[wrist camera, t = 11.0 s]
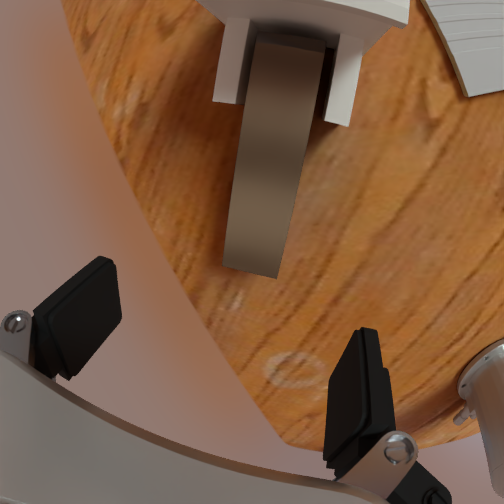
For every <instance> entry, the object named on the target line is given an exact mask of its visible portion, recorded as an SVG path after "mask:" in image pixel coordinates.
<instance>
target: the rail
mask: <svg viewBox="0 0 504 504" xmlns="http://www.w3.org/2000/svg"><path fill="white" fill-rule="evenodd" d="M325 48H326V41H321V40H316V39H311V38H306V37H300V36H294V35H288V34H281V33H273V32H264V31H258V33H257V38H256V44H255V49H254V55H253V60H252V66H251V72H250V78H249V83H248V89H247V95H246V101H245V108H244V114H243V120H242V126H241V133H240V139H239V146H238V152H237V159H236V166H235V172H234V179H233V186H232V193H231V201H230V208H229V215H228V223H227V230H226V238H225V246H224V254H223V262H222V266H224V267H229V268H233V269H237V270H241V271H245V272H249V273H253V274H257V275H262V276H266V277H270V278H274V279H277V276H278V272H279V268H280V263H281V259H282V255H283V251H284V247H285V242H286V238H287V234H288V229H289V225H290V221H291V216H292V212H293V208H294V203H295V199H296V194H297V189H298V185H299V180H300V176H301V171H302V166H303V162H304V157H305V152H306V147H307V142H308V138H309V133H310V128H311V123H312V118H313V113H314V107H315V102H316V97H317V92H318V87H319V81H320V76H321V70H322V65H323V59H324V54H325Z"/></svg>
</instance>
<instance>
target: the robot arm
mask: <svg viewBox="0 0 504 504" xmlns="http://www.w3.org/2000/svg"><path fill="white" fill-rule="evenodd" d="M33 312H34V316H33V317H31V315H30V314H29V313H28V312H26V311H23V310H17V311H13V312H11V313H9V314H8V315H7V316H5V318H4V319H3V320H2V323H1V326H0V504H452V498H451V494H450V492H449V491H448V489H447V488H446V487H445V486H444V485H443V484H441V483H440V482H439V481H438V480H437V479H436V478H435V477H434V476H432V474H430V473H429V472H428V471H427V470H426V469H425V468H424V467H423V466H422V465H421V464H420V463H418V462H417V461H416V459H417V457H418V447H417V444H416V442H415V440H414V439H413V438H412V437H411V436H410V435H409V434H407V433H405V432H402V431H396V426H395V416H394V407H393V398H392V390H391V383H390V376H389V371H388V369H387V368H383V363H382V357H381V350H380V344H379V338H378V332H377V330H374V329H370V328H365V327H361V328H360V330H355V331H354V333H353V335H352V337H351V339H350V341H349V343H348V345H347V347H346V349H345V350H344V352H343V354H342V356H341V358H340V360H339V362H338V364H337V365H336V367H335V369H334V371H333V373H332V375H331V377H330V379H329V384H328V400H327V415H326V428H325V439H324V450H323V460H324V461H327V465H326V468H329V469H335V472H334V475H335V476H336V478H335V479H333V480H332V481H331V480H326V479H320V478H314V477H309V476H302V475H296V474H291V473H285V472H280V471H275V470H271V469H266V468H262V467H257V466H253V465H249V464H245V463H240V462H237V461H233V460H229V459H226V458H222V457H219V456H215V455H212V454H209V453H205V452H202V451H199V450H196V449H193V448H191V447H188V446H185V445H182V444H179V443H177V442H174V441H171V440H169V439H166V438H164V437H161V436H159V435H156V434H153V433H151V432H149V431H146V430H144V429H142V428H140V427H137V426H135V425H133V424H131V423H129V422H126V421H124V420H122V419H120V418H118V417H116V416H114V415H112V414H110V413H108V412H106V411H104V410H102V409H100V408H99V407H97V406H95V405H93V404H91V403H89V402H88V401H86V400H84V399H82V398H81V397H79V396H77V395H75V394H74V393H72V392H70V391H68V390H67V389H65V388H64V387H62V386H61V385H59V384H57V383H56V375H57V374H58V373H59V375H60V376H62V377H63V378H65V379H67V380H68V381H69V380H70V379H71V378H72V376H76V375H77V374H78V373H79V372H80V371H81V369H82V368H83V367H84V365H85V364H86V363H87V362H88V361H89V359H90V358H91V357H92V356H93V354H94V353H95V352H96V351H97V349H98V348H99V347H100V346H101V345H102V343H103V342H104V341H105V340H106V338H107V337H108V336H109V335H110V334H111V333H112V331H113V330H114V329H115V328H116V327H117V325H118V324H119V323H120V321H121V319H122V312H121V305H120V297H119V289H118V281H117V271H116V265H115V264H114V263H113V260H111V259H109V258H106V257H103V256H98V257H97V258H95V259H94V260H93V261H91V262H90V263H89V264H88V265H86V266H85V267H84V268H82V269H81V270H80V271H79V272H78V273H76V274H75V275H74V276H73V277H72V278H70V279H69V280H68V281H67V282H65V283H64V284H63V285H62V286H60V287H59V288H58V289H57V290H56V291H55V292H53V293H52V294H51V295H50V296H49V297H48V298H46V299H45V300H44V301H43V302H42V303H41V304H40V305H39V306H37V307H36V308H35V309H34V310H33ZM457 389H458V393H459V395H460V397H461V398H463V399H464V400H466V403H465V404H464V408H463V409H462V410H461V411H460V412H459V413H458V414H457V415H456V416H455V417H454V418H453V422H454V423H455V424H456V425H461V424H462V423H463V422H464V421H465V420H466V419H467V418H468V417H469V416H470V418H471V419H475V418H476V417H477V420H478V423H479V427H480V431H481V435H482V439H483V443H484V448H485V452H486V456H487V462H488V467H489V472H490V478H491V483H492V487H493V489H494V491H495V492H496V493H497V494H498V495H499V496H501V497H502V498H504V339H502V340H499V341H497V342H496V343H494V344H492V345H490V346H489V347H487V348H486V349H484V350H483V351H482V352H481V353H480V354H478V355H477V356H476V357H475V358H474V359H473V360H472V361H471V362H470V363H469V364H468V365H467V367H466V368H465V369H464V371H463V372H462V374H461V376H460V378H459V380H458V383H457Z"/></svg>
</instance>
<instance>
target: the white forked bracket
mask: <svg viewBox="0 0 504 504" xmlns="http://www.w3.org/2000/svg"><path fill="white" fill-rule="evenodd" d="M196 1H197V2H199V3H200V4H201V5H202V6H203V7H205V8H206V9H207V10H208V11H210V12H211V13H212V14H213V15H214V16H215V17H217V18H218V19H219V20H220V21H221V22H222V23H224V24H225V30H224V35H223V41H222V46H221V52H220V57H219V63H218V69H217V75H216V81H215V88H214V94H213V102H223V103H231V104H241V105H245V101H246V95H247V89H248V83H249V78H250V72H251V66H252V60H253V55H254V49H255V44H256V38H257V33H258V31H264V32H273V33H281V34H288V35H294V36H300V37H306V38H311V39H316V40H321V41H326V47H328V48H332V49H335V50H334V56H333V62H332V67H331V73H330V78H329V84H328V89H327V94H326V99H325V104H324V109H323V114H322V120H324V121H328V122H332V123H336V124H340V125H344V126H347V127H348V126H349V121H350V116H351V112H352V107H353V102H354V97H355V92H356V86H357V81H358V76H359V70H360V65H361V59H362V56H363V55H364V54H365V53H366V52H367V51H368V50H369V49H370V48H371V47H372V46H373V45H374V44H375V43H376V42H377V41H378V40H379V39H380V38H381V37H382V36H383V35H384V34H385V33H386V32H387V31H388V30H389V29H390V28H391V27H392V26H395V27H398V28H400V29H403V28H404V27H405V26H406V25H408V16H409V4H410V0H196Z"/></svg>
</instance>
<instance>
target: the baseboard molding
mask: <svg viewBox="0 0 504 504" xmlns="http://www.w3.org/2000/svg"><path fill="white" fill-rule="evenodd" d="M420 1H421V3H422V4H423V6H424V8H425V9H426V11H427V13H428V15H429V17H430V19H431V20H432V22H433V24H434V26H435V28H436V30H437V32H438V34H439V36H440V38H441V40H442V43H443V45H444V47H445V49H446V51H447V54H448V56H449V58H450V61H451V63H452V65H453V68H454V70H455V73H456V76H457V78H458V81H459V84H460V86H461V89H462V92H463V95H464V96H465V97H471V96H476V95H480V94H485V93H490V92H495V91H500V90H504V0H420Z"/></svg>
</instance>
